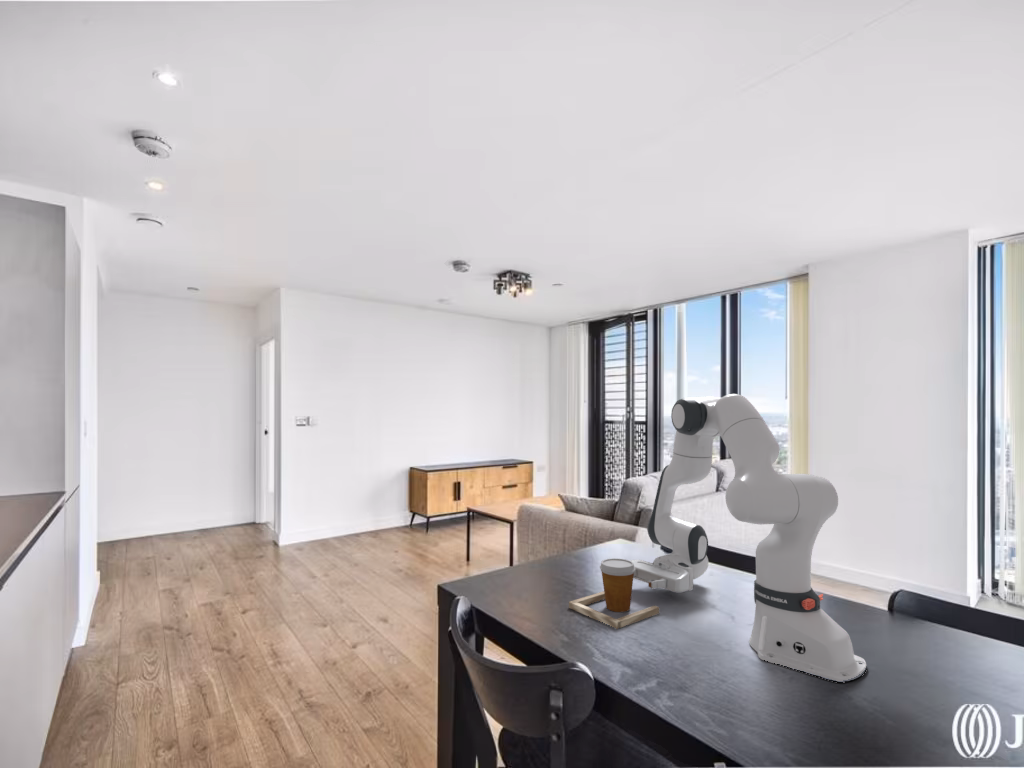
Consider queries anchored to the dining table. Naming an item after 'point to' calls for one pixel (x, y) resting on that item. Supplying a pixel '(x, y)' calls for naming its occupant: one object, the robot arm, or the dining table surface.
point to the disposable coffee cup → (617, 583)
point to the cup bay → (616, 623)
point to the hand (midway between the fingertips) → (636, 580)
